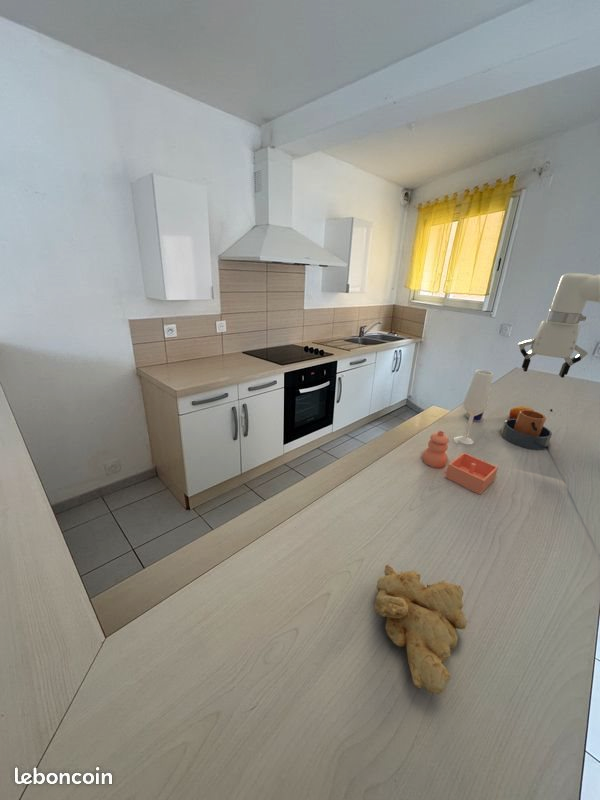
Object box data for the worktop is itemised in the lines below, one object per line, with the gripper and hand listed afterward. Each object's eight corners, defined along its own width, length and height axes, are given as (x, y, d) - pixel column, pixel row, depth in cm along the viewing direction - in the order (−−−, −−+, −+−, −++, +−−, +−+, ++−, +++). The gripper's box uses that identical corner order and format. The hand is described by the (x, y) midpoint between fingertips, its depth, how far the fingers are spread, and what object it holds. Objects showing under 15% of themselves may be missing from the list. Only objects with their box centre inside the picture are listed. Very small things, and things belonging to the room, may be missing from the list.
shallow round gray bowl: (542, 437, 111) (547, 424, 109) (550, 455, 100) (556, 441, 98) (498, 428, 116) (502, 415, 114) (502, 444, 105) (507, 431, 103)
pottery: (493, 480, 87) (504, 449, 83) (479, 494, 81) (490, 461, 77) (431, 451, 99) (438, 423, 95) (415, 462, 93) (421, 432, 89)
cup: (533, 437, 110) (543, 412, 106) (540, 454, 100) (551, 427, 96) (510, 432, 112) (518, 407, 109) (514, 448, 102) (524, 422, 99)
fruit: (514, 425, 115) (516, 403, 116) (504, 427, 123) (506, 406, 124) (539, 428, 114) (541, 406, 115) (528, 430, 121) (529, 409, 122)
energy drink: (462, 419, 121) (471, 390, 117) (468, 415, 125) (476, 386, 120) (477, 424, 118) (486, 394, 113) (482, 420, 121) (491, 391, 117)
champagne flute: (464, 448, 102) (484, 376, 92) (448, 437, 108) (467, 369, 98) (480, 445, 104) (502, 375, 94) (464, 435, 110) (484, 368, 100)
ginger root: (400, 556, 61) (416, 532, 56) (476, 641, 51) (502, 620, 46) (339, 603, 52) (351, 580, 48) (415, 716, 43) (440, 700, 38)
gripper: (596, 320, 94) (573, 375, 101) (526, 313, 101) (510, 365, 108) (604, 323, 88) (579, 382, 95) (529, 316, 95) (511, 371, 102)
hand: (542, 373), depth 102 cm, fingers open, 9 cm apart
